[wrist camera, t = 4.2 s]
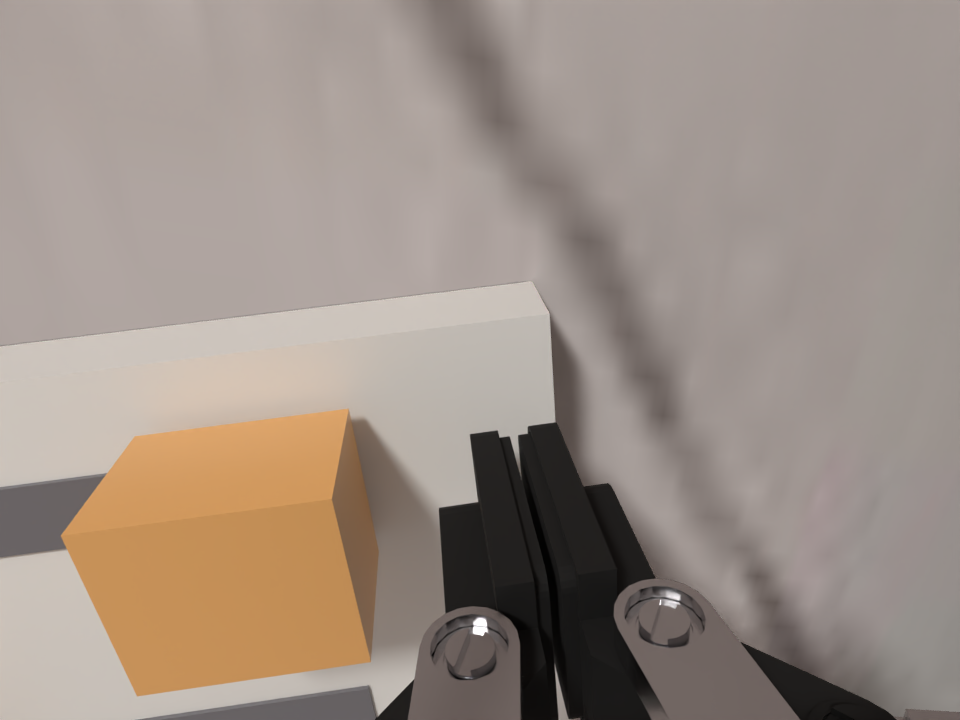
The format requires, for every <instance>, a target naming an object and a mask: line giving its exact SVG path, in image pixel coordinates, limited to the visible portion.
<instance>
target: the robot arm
mask: <svg viewBox="0 0 960 720" xmlns="http://www.w3.org/2000/svg"><path fill="white" fill-rule="evenodd" d="M470 442H471V450H472V458H473V466H474V473H475V481H476V489H477V497H478V502H475V503H468V504H461V505H454V506H447V507H441V508H439V523H440V538H441V553H442V569H443V584H444V599H445V614H444V615H442V616H441V617H440V618H438V619H437V620H436V621H434V622H433V623H432V624H431V626H430V627H429V628H428V630H427V631H426V632H425V633H424V635H423V638H422V641H421V644H420V647H419V653H418V659H417V665H416V672H415V678H414V680H413V681H412V682H411V683H410V684H409V685H408V686H407V687H406V688H405V689H404V690H403V691H402V692H401V693H400V694H399V695H398V696H397V697H396V698H395V699H394V700H393V701H392V702H391V703H390V704H389V705H388V706H387V708H386V709H385V710H384V711H383V712H382V713H381V714H380V715H379V716H378V717H377V718H376V719H375V720H559V718H558V704H557V690H556V677H555V667H556V671H557V675H558V679H559V684H560V688H561V692H562V696H563V700H564V704H565V708H566V712H567V716H568V718H569V719H574V718H580V719H581V720H960V712H949V711H932V710H915V709H906V710H905V714H904V717H893V716H892V715H891V714H890V713H889V712H887V711H886V710H884V709H882V708H880V707H879V706H877V705H875V704H873V703H872V702H870V701H868V700H866V699H864V698H862V697H859V696H857V695H855V694H853V693H851V692H848V691H846V690H844V689H842V688H840V687H838V686H835V685H833V684H831V683H829V682H827V681H824V680H822V679H820V678H818V677H816V676H814V675H811V674H809V673H807V672H805V671H803V670H800V669H798V668H796V667H794V666H792V665H789V664H787V663H785V662H783V661H781V660H779V659H776V658H774V657H772V656H770V655H768V654H765V653H763V652H761V651H759V650H757V649H755V648H752V647H750V646H748V645H746V644H744V643H741V642H740V641H739V640H738V639H737V637H736V636H735V635H734V634H733V632H732V631H731V630H730V628H729V627H728V626H727V625H726V623H725V622H724V621H723V619H722V618H721V617H720V615H719V614H718V613H717V612H716V610H715V609H714V608H713V606H712V605H711V604H710V603H709V602H708V601H707V600H706V599H705V598H704V597H703V596H702V595H701V594H700V593H699V592H698V591H696V590H694V589H693V588H691V587H689V586H687V585H686V584H683V583H679V582H676V581H673V580H667V579H656V578H655V576H654V574H653V572H652V570H651V568H650V566H649V564H648V562H647V559H646V557H645V555H644V553H643V551H642V549H641V547H640V545H639V543H638V541H637V539H636V537H635V534H634V532H633V530H632V528H631V526H630V524H629V522H628V520H627V518H626V516H625V514H624V511H623V509H622V507H621V505H620V503H619V501H618V499H617V497H616V495H615V493H614V491H613V489H612V487H611V485H609V484H608V483H607V484H600V485H593V486H586V487H583V485H582V483H581V480H580V478H579V475H578V473H577V471H576V468H575V466H574V463H573V461H572V458H571V456H570V454H569V451H568V449H567V446H566V444H565V441H564V439H563V437H562V434H561V432H560V429H559V427H558V425H557V423H556V422H553V423H546V424H539V425H532V426H528V434H522V435H518V445H519V457H520V468H521V476H520V472H519V469H518V465H517V461H516V457H515V454H514V450H513V446H512V443H511V439H510V436H507V437H500V438H499V434H498V431H497V430H496V431H489V432H482V433H475V434H470ZM521 479H522V480H521Z"/></svg>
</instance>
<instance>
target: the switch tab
mask: <svg viewBox="0 0 960 720" xmlns="http://www.w3.org/2000/svg"><path fill="white" fill-rule="evenodd" d="M61 538H62V540H63V542H64V544H65V546H66V548H67V550H68V552H69V555H70V557H71V559H72V561H73V563H74V565H75V567H76V569H77V571H78V573H79V576H80V578H81V580H82V582H83V584H84V586H85V588H86V590H87V592H88V594H89V597H90V599H91V601H92V603H93V605H94V607H95V609H96V611H97V613H98V615H99V618H100V620H101V622H102V624H103V626H104V628H105V630H106V632H107V634H108V636H109V639H110V641H111V643H112V645H113V647H114V649H115V651H116V653H117V655H118V657H119V660H120V662H121V664H122V666H123V668H124V670H125V672H126V674H127V676H128V678H129V681H130V683H131V685H132V687H133V689H134V691H135V693H136V695H137V696H144V695H150V694H157V693H164V692H171V691H178V690H184V689H191V688H198V687H205V686H212V685H219V684H225V683H232V682H239V681H246V680H253V679H259V678H266V677H273V676H280V675H287V674H293V673H300V672H307V671H314V670H321V669H328V668H334V667H341V666H348V665H355V664H362V663H368V662H371V654H372V640H373V626H374V612H375V598H376V584H377V570H378V556H379V550H378V545H377V540H376V536H375V531H374V526H373V521H372V517H371V512H370V507H369V502H368V498H367V493H366V488H365V483H364V479H363V474H362V469H361V464H360V460H359V455H358V450H357V445H356V441H355V436H354V431H353V426H352V422H351V417H350V412H349V409H342V410H334V411H326V412H318V413H311V414H303V415H295V416H288V417H280V418H272V419H264V420H257V421H249V422H241V423H234V424H226V425H218V426H210V427H203V428H195V429H187V430H180V431H172V432H164V433H156V434H149V435H141V436H135V437H134V438H133V439H132V441H131V442H130V443H129V445H128V446H127V447H126V449H125V450H124V451H123V453H122V454H121V455H120V457H119V458H118V459H117V461H116V462H115V463H114V465H113V466H112V468H111V469H110V470H109V472H108V473H107V474H106V476H105V477H104V478H103V480H102V481H101V482H100V484H99V485H98V486H97V488H96V489H95V490H94V492H93V493H92V494H91V496H90V497H89V498H88V500H87V501H86V502H85V504H84V505H83V506H82V508H81V509H80V510H79V512H78V513H77V515H76V516H75V517H74V519H73V520H72V521H71V523H70V524H69V525H68V527H67V528H66V529H65V531H64V532H63V533H62V535H61Z"/></svg>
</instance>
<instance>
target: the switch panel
mask: <svg viewBox="0 0 960 720" xmlns="http://www.w3.org/2000/svg"><path fill="white" fill-rule="evenodd" d="M342 409H349V412H350V417H351V422H352V426H353V431H354V436H355V441H356V445H357V450H358V455H359V460H360V464H361V469H362V474H363V479H364V483H365V488H366V493H367V498H368V502H369V507H370V512H371V517H372V521H373V526H374V531H375V536H376V540H377V545H378V550H379V556H378V570H377V584H376V598H375V612H374V626H373V640H372V654H371V662H368V663H362V664H355V665H348V666H341V667H334V668H328V669H321V670H314V671H307V672H300V673H293V674H287V675H280V676H273V677H266V678H259V679H253V680H246V681H239V682H232V683H225V684H219V685H212V686H205V687H198V688H191V689H184V690H178V691H171V692H164V693H157V694H150V695H144V696H137V695H136V693H135V691H134V689H133V687H132V685H131V683H130V681H129V678H128V676H127V674H126V672H125V670H124V668H123V666H122V664H121V662H120V660H119V657H118V655H117V653H116V651H115V649H114V647H113V645H112V643H111V641H110V639H109V636H108V634H107V632H106V630H105V628H104V626H103V624H102V622H101V620H100V618H99V615H98V613H97V611H96V609H95V607H94V605H93V603H92V601H91V599H90V597H89V594H88V592H87V590H86V588H85V586H84V584H83V582H82V580H81V578H80V576H79V573H78V571H77V569H76V567H75V565H74V563H73V561H72V559H71V557H70V555H69V552H68V550H67V548H66V546H65V544H64V542H63V540H62V538H61V535H62V533H63V532H64V531H65V529H66V528H67V527H68V525H69V524H70V523H71V521H72V520H73V519H74V517H75V516H76V515H77V513H78V512H79V510H80V509H81V508H82V506H83V505H84V504H85V502H86V501H87V500H88V498H89V497H90V496H91V494H92V493H93V492H94V490H95V489H96V488H97V486H98V485H99V484H100V482H101V481H102V480H103V478H104V477H105V476H106V474H107V473H108V472H109V470H110V469H111V468H112V466H113V465H114V463H115V462H116V461H117V459H118V458H119V457H120V455H121V454H122V453H123V451H124V450H125V449H126V447H127V446H128V445H129V443H130V442H131V441H132V439H133V438H134V437H135V436H141V435H149V434H156V433H164V432H172V431H180V430H187V429H195V428H203V427H210V426H218V425H226V424H234V423H241V422H249V421H257V420H264V419H272V418H280V417H288V416H295V415H303V414H311V413H318V412H326V411H334V410H342ZM553 422H555V404H554V386H553V367H552V349H551V330H550V314H549V312H548V310H547V308H546V306H545V304H544V302H543V301H542V299H541V297H540V295H539V293H538V291H537V289H536V288H535V286H534V284H533V282H532V281H530V282H522V283H514V284H506V285H498V286H490V287H481V288H473V289H465V290H457V291H449V292H441V293H432V294H424V295H416V296H408V297H400V298H392V299H384V300H375V301H367V302H359V303H351V304H343V305H335V306H326V307H318V308H310V309H302V310H294V311H286V312H278V313H269V314H261V315H253V316H245V317H237V318H229V319H220V320H212V321H204V322H196V323H188V324H180V325H171V326H163V327H155V328H147V329H139V330H131V331H123V332H114V333H106V334H98V335H90V336H82V337H74V338H65V339H57V340H49V341H41V342H33V343H25V344H16V345H8V346H0V720H375V719H376V718H377V717H378V716H379V715H380V714H381V713H382V712H383V711H384V710H385V709H386V708H387V706H388V705H389V704H390V703H391V702H392V701H393V700H394V699H395V698H396V697H397V696H398V695H399V694H400V693H401V692H402V691H403V690H404V689H405V688H406V687H407V686H408V685H409V684H410V683H411V682H412V681H413V680H414V678H415V672H416V665H417V659H418V653H419V647H420V644H421V641H422V638H423V635H424V633H425V632H426V631H427V630H428V628H429V627H430V626H431V624H432V623H433V622H434V621H436V620H437V619H438V618H440V617H441V616H442V615H444V614H445V599H444V584H443V569H442V553H441V538H440V523H439V508H441V507H447V506H454V505H461V504H468V503H475V502H478V497H477V489H476V481H475V473H474V466H473V458H472V450H471V442H470V434H475V433H482V432H489V431H496V430H497V431H498V434H499V438H500V437H507V436H510V439H511V443H512V446H513V450H514V454H515V457H516V461H517V465H518V469H519V472H520V476H521V468H520V457H519V445H518V435H522V434H528V426H532V425H539V424H546V423H553ZM521 480H522V479H521ZM555 677H556V690H557V704H558V718H559V720H571V719H569V718H568V716H567V712H566V708H565V704H564V700H563V696H562V692H561V688H560V684H559V679H558V675H557V671H556V667H555Z"/></svg>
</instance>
